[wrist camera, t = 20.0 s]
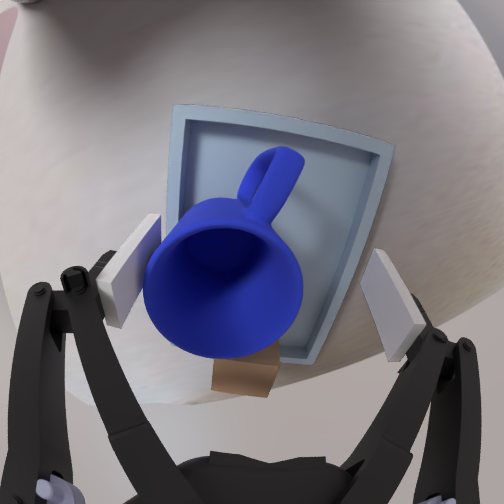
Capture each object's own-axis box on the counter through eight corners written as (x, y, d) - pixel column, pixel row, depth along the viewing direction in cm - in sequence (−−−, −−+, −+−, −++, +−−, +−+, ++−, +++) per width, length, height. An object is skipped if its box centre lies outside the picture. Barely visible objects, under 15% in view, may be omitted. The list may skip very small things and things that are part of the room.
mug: (309, 171, 22) (371, 194, 13) (243, 293, 25) (258, 374, 16) (216, 124, 20) (216, 107, 10) (156, 259, 23) (125, 331, 14)
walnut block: (227, 292, 27) (214, 357, 20) (278, 300, 27) (279, 366, 20) (222, 328, 29) (211, 390, 22) (268, 334, 29) (267, 397, 23)
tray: (183, 104, 19) (173, 104, 17) (382, 140, 19) (395, 145, 17) (176, 329, 31) (170, 345, 29) (310, 348, 32) (312, 365, 29)
